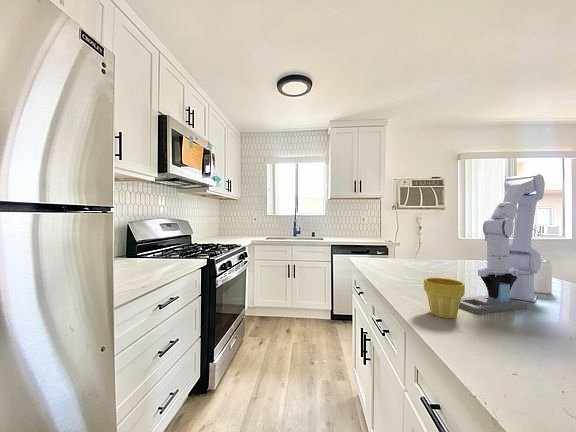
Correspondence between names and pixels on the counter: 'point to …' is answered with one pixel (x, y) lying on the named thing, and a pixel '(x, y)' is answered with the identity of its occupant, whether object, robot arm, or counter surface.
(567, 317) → the counter surface
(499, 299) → the plug
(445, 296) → the plant pot
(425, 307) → the counter surface
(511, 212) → the robot arm
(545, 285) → the can
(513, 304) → the holder plate
